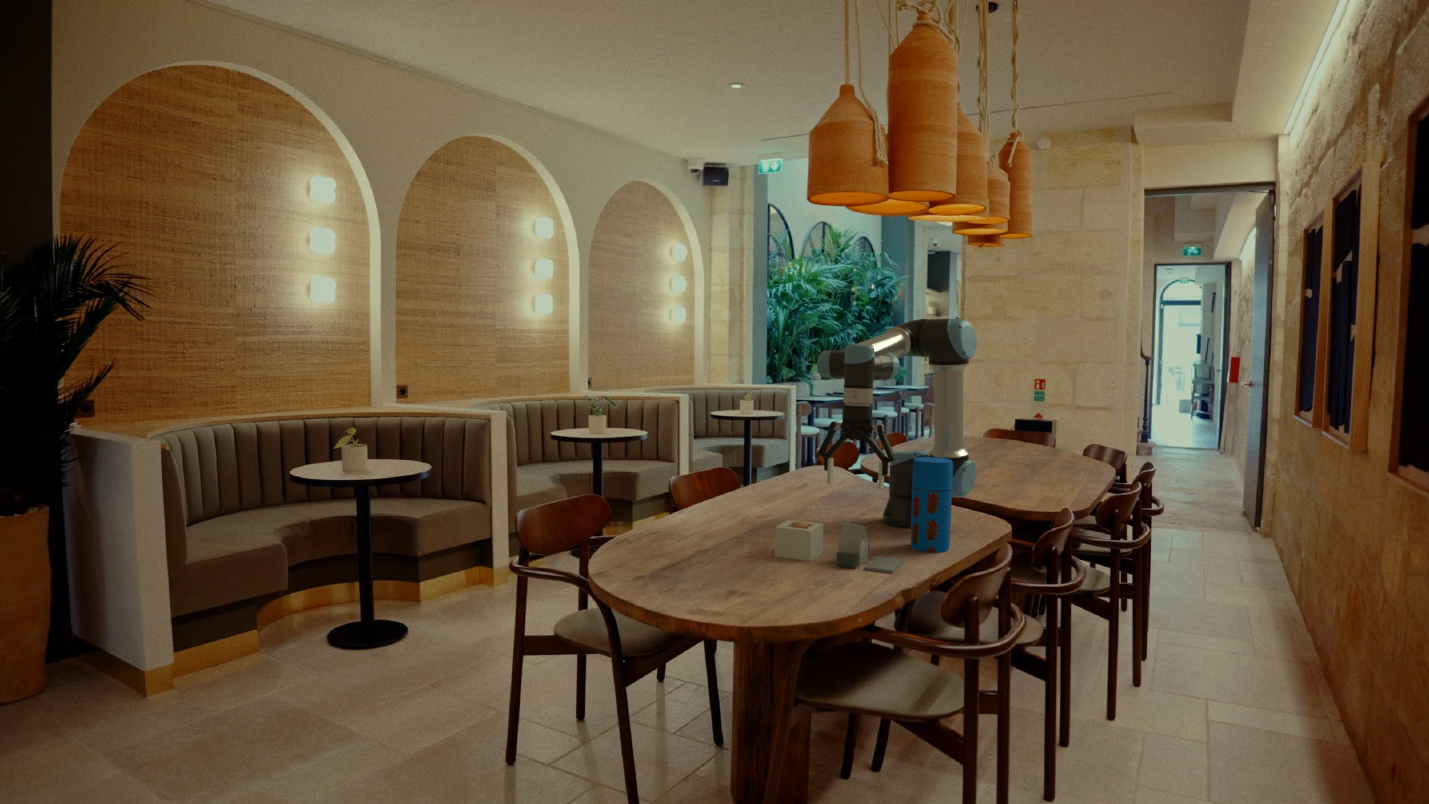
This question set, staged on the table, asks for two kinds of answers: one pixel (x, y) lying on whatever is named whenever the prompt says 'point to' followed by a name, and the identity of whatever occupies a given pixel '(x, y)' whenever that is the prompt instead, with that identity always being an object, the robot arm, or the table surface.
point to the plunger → (800, 525)
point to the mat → (885, 564)
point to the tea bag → (854, 541)
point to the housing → (799, 541)
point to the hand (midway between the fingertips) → (855, 485)
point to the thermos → (931, 504)
